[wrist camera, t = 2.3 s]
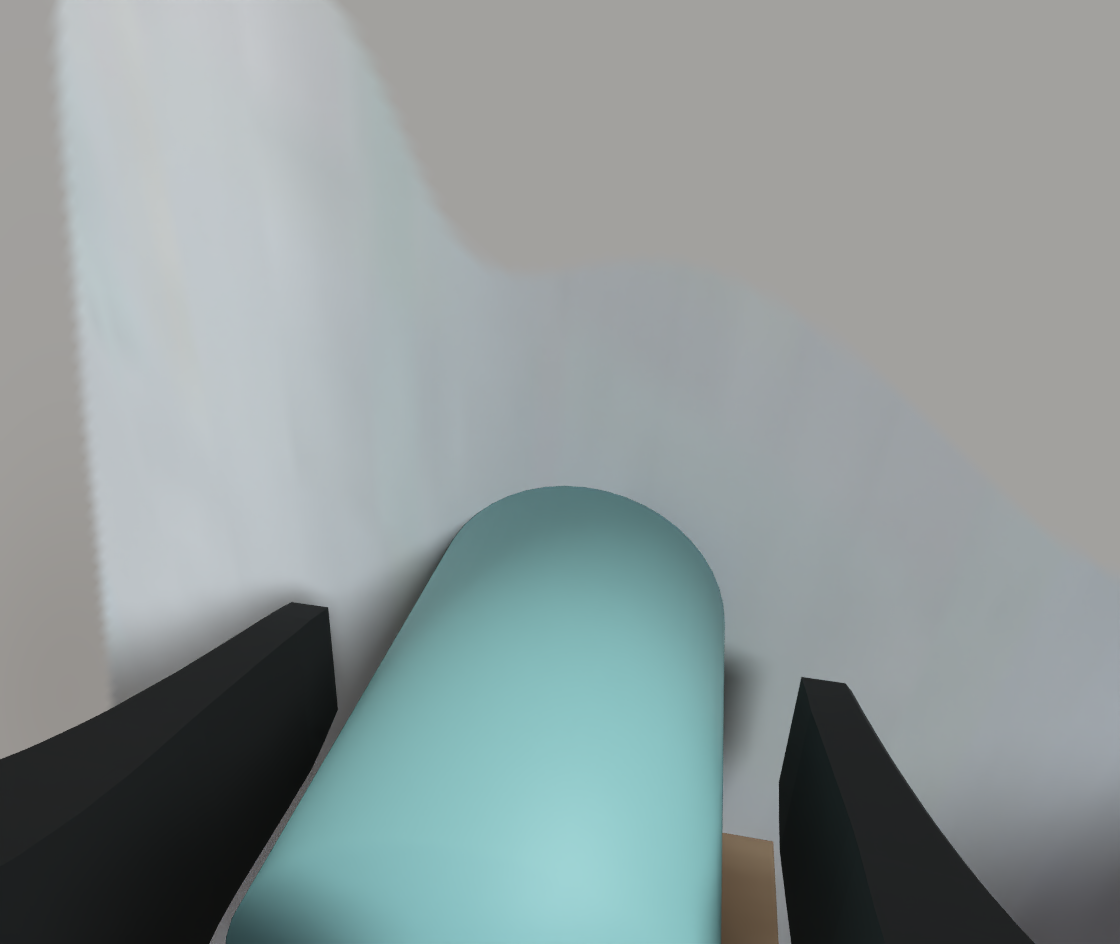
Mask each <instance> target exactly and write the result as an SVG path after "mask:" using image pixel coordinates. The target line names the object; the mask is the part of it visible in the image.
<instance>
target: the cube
mask: <svg viewBox="0 0 1120 944" xmlns="http://www.w3.org/2000/svg"><path fill="white" fill-rule="evenodd" d="M721 944H779V943H778V924H777V906H776V887H775V868H774V850H773V842H772V841H767V840H761V839H755V838H749V837H744V836H738V835H732V834H727V833H722V903H721Z"/></svg>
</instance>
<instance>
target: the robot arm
mask: <svg viewBox="0 0 1120 944" xmlns="http://www.w3.org/2000/svg"><path fill="white" fill-rule="evenodd" d="M337 710H338V707H337V696H336V686H335V675H334V665H333V654H332V644H331V633H330V623H329V612H328V607H321V606H314V605H307V604H301V603H294V602H291V603H289V604H287V605H286V606H284V607H282V608H280V609H278V610H277V611H275V612H273V613H272V614H270V615H268V616H267V617H265V618H264V619H262V620H260V621H259V622H257V623H255V624H254V625H252V626H251V627H249V628H247V629H246V630H244V631H243V632H241V633H239V634H238V635H236V636H235V637H233V638H231V639H230V640H228V641H227V642H225V643H223V644H222V645H220V646H219V647H217V648H215V649H214V650H212V651H210V652H209V653H207V654H205V655H204V656H202V657H201V658H199V659H197V660H196V661H194V662H192V663H191V664H189V665H187V666H186V667H184V668H183V669H181V670H179V671H178V672H176V673H174V674H172V675H171V676H169V677H167V678H165V679H163V680H162V681H160V682H158V683H156V684H155V685H153V686H151V687H149V688H147V689H146V690H144V691H142V692H140V693H138V694H137V695H135V696H133V697H131V698H129V699H128V700H126V701H124V702H122V703H121V704H119V705H117V706H115V707H113V708H111V709H109V710H108V711H106V712H104V713H102V714H100V715H98V716H96V717H94V718H92V719H90V720H88V721H86V722H84V723H82V724H80V725H78V726H76V727H74V728H71V729H69V730H67V731H65V732H63V733H61V734H59V735H56V736H54V737H52V738H50V739H48V740H46V741H43V742H41V743H39V744H37V745H34V746H32V747H30V748H28V749H25V750H23V751H20V752H18V753H16V754H13V755H10V756H8V757H6V758H3V759H0V944H209V943H210V941H211V939H212V937H213V935H214V933H215V930H216V928H217V926H218V924H219V923H220V921H221V919H222V917H223V916H224V914H225V912H226V910H227V908H228V907H229V905H230V903H231V901H232V899H233V898H234V896H235V894H236V893H237V891H238V889H239V888H240V886H241V884H242V883H243V881H244V879H245V878H246V876H247V875H248V873H249V871H250V870H251V868H252V866H253V865H254V863H255V861H256V860H257V858H258V857H259V855H260V853H261V852H262V850H263V848H264V847H265V845H266V844H267V842H268V840H269V839H270V837H271V835H272V834H273V832H274V830H275V829H276V827H277V826H278V824H279V822H280V821H281V819H282V817H283V816H284V814H285V813H286V811H287V809H288V808H289V806H290V804H291V803H292V801H293V799H294V798H295V796H296V794H297V793H298V791H299V789H300V788H301V786H302V784H303V783H304V781H305V779H306V777H307V776H308V774H309V772H310V771H311V769H312V767H313V765H314V763H315V760H316V758H317V756H318V754H319V752H320V750H321V747H322V745H323V743H324V741H325V738H326V736H327V734H328V731H329V729H330V727H331V724H332V722H333V720H334V717H335V715H336V713H337ZM779 835H780V856H781V865H782V873H783V881H784V889H785V897H786V905H787V913H788V921H789V928H790V936H791V944H1035V943H1034V942H1033V941H1032V940H1031V939H1030V938H1029V937H1028V936H1027V935H1026V934H1025V933H1024V932H1023V931H1022V930H1021V929H1020V927H1019V926H1018V925H1017V924H1016V923H1015V922H1014V921H1013V920H1012V918H1011V917H1010V916H1009V915H1008V914H1007V913H1006V912H1005V910H1004V909H1003V908H1002V907H1001V906H1000V905H999V904H998V902H997V901H996V900H995V899H994V898H993V897H992V896H991V894H990V893H989V892H988V891H987V890H986V888H985V887H984V886H983V885H982V883H981V882H980V881H979V880H978V879H977V877H976V876H975V875H974V874H973V872H972V871H971V870H970V869H969V867H968V866H967V865H966V864H965V862H964V861H963V860H962V858H961V857H960V856H959V854H958V853H957V852H956V850H955V849H954V848H953V846H952V845H951V844H950V843H949V841H948V840H947V839H946V837H945V836H944V835H943V833H942V832H941V831H940V829H939V828H938V826H937V825H936V824H935V822H934V821H933V819H932V818H931V817H930V815H929V814H928V812H927V811H926V810H925V808H924V807H923V805H922V804H921V802H920V801H919V799H918V798H917V796H916V795H915V793H914V792H913V790H912V789H911V788H910V786H909V785H908V783H907V782H906V780H905V779H904V777H903V776H902V774H901V773H900V771H899V770H898V768H897V767H896V765H895V763H894V762H893V760H892V759H891V757H890V756H889V754H888V752H887V751H886V749H885V747H884V746H883V744H882V743H881V741H880V739H879V738H878V736H877V734H876V733H875V731H874V729H873V728H872V726H871V724H870V723H869V721H868V719H867V717H866V716H865V714H864V712H863V711H862V709H861V707H860V705H859V704H858V702H857V700H856V698H855V696H854V695H853V693H852V691H851V690H850V689H849V687H848V686H847V685H846V684H845V683H839V682H832V681H825V680H818V679H811V678H805V677H801V682H800V687H799V691H798V696H797V701H796V705H795V710H794V715H793V719H792V724H791V729H790V733H789V738H788V743H787V747H786V752H785V757H784V761H783V766H782V771H781V775H780V780H779Z"/></svg>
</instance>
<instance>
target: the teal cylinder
mask: <svg viewBox="0 0 1120 944" xmlns="http://www.w3.org/2000/svg"><path fill="white" fill-rule="evenodd" d="M724 630H725V620H724V609H723V602H722V598H721V594H720V590H719V587H718V584H717V582H716V579H715V577H714V575H713V572H712V570H711V569H710V567H709V565H708V564H707V562H706V560H705V559H704V557H703V555H702V554H701V553H700V552H699V550H698V549H697V548H696V547H695V545H694V544H693V543H692V541H691V540H690V539H689V538H687V537H686V536H685V535H684V534H683V533H682V532H681V531H680V530H679V529H678V528H677V527H676V526H675V525H673V524H672V523H671V522H669V521H668V520H667V519H665V518H664V517H663V516H661V515H660V514H658V513H656V512H655V511H653V510H651V509H649V508H648V507H646V506H644V505H642V504H640V503H638V502H635V501H633V500H631V499H628V498H626V497H623V496H620V495H617V494H613V493H610V492H607V491H603V490H597V489H592V488H586V487H572V486H556V487H543V488H537V489H532V490H526V491H523V492H520V493H517V494H514V495H510V496H507V497H505V498H503V499H501V500H499V501H497V502H495V503H493V504H491V505H489V506H488V507H486V508H485V509H483V510H482V511H480V512H479V513H477V514H476V515H475V516H474V517H473V518H472V519H471V520H470V521H468V522H467V523H466V524H465V525H464V526H463V527H462V529H461V530H460V531H459V532H458V534H457V535H456V536H455V537H454V539H453V541H452V542H451V544H450V546H449V547H448V549H447V551H446V553H445V554H444V556H443V558H442V559H441V561H440V563H439V565H438V566H437V568H436V570H435V571H434V573H433V575H432V577H431V578H430V580H429V582H428V583H427V585H426V587H425V589H424V590H423V592H422V594H421V595H420V597H419V599H418V600H417V602H416V604H415V606H414V607H413V609H412V611H411V612H410V614H409V616H408V618H407V619H406V621H405V623H404V624H403V626H402V628H401V630H400V631H399V633H398V635H397V636H396V638H395V640H394V642H393V643H392V645H391V647H390V648H389V650H388V652H387V654H386V655H385V657H384V659H383V660H382V662H381V664H380V665H379V667H378V669H377V671H376V672H375V674H374V676H373V677H372V679H371V681H370V683H369V684H368V686H367V688H366V689H365V691H364V693H363V695H362V696H361V698H360V700H359V701H358V703H357V705H356V707H355V708H354V710H353V712H352V713H351V715H350V717H349V719H348V720H347V722H346V724H345V725H344V727H343V729H342V731H341V732H340V734H339V736H338V737H337V739H336V741H335V742H334V744H333V746H332V748H331V749H330V751H329V753H328V754H327V756H326V758H325V760H324V761H323V763H322V765H321V766H320V768H319V770H318V772H317V773H316V775H315V777H314V778H313V780H312V782H311V784H310V785H309V787H308V789H307V790H306V792H305V794H304V796H303V797H302V799H301V801H300V802H299V804H298V806H297V807H296V809H295V811H294V813H293V814H292V816H291V818H290V819H289V821H288V823H287V825H286V826H285V828H284V830H283V831H282V833H281V835H280V837H279V838H278V840H277V842H276V843H275V845H274V847H273V849H272V850H271V852H270V854H269V855H268V857H267V859H266V861H265V862H264V864H263V866H262V867H261V869H260V871H259V872H258V874H257V876H256V878H255V879H254V881H253V883H252V884H251V886H250V888H249V890H248V891H247V893H246V895H245V896H244V898H243V900H242V902H241V903H240V905H239V907H238V909H237V910H236V912H235V914H234V915H233V917H232V920H231V923H230V926H229V930H228V933H227V936H226V944H721V903H722V812H723V721H724Z"/></svg>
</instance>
